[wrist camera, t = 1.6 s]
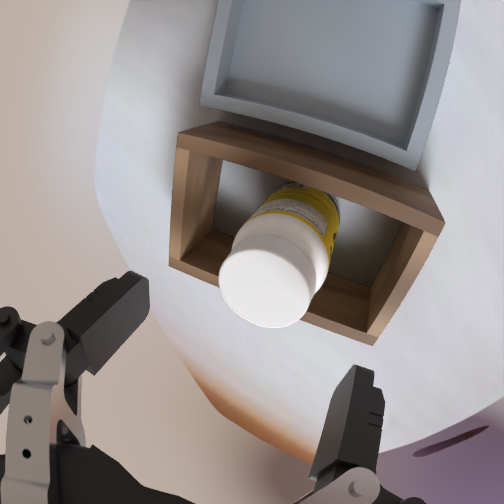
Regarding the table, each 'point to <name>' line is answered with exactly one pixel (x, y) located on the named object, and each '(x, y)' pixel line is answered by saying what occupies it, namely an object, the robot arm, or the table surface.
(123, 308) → the robot arm
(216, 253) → the caddy
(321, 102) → the tray
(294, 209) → the supplement bottle
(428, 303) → the table surface
